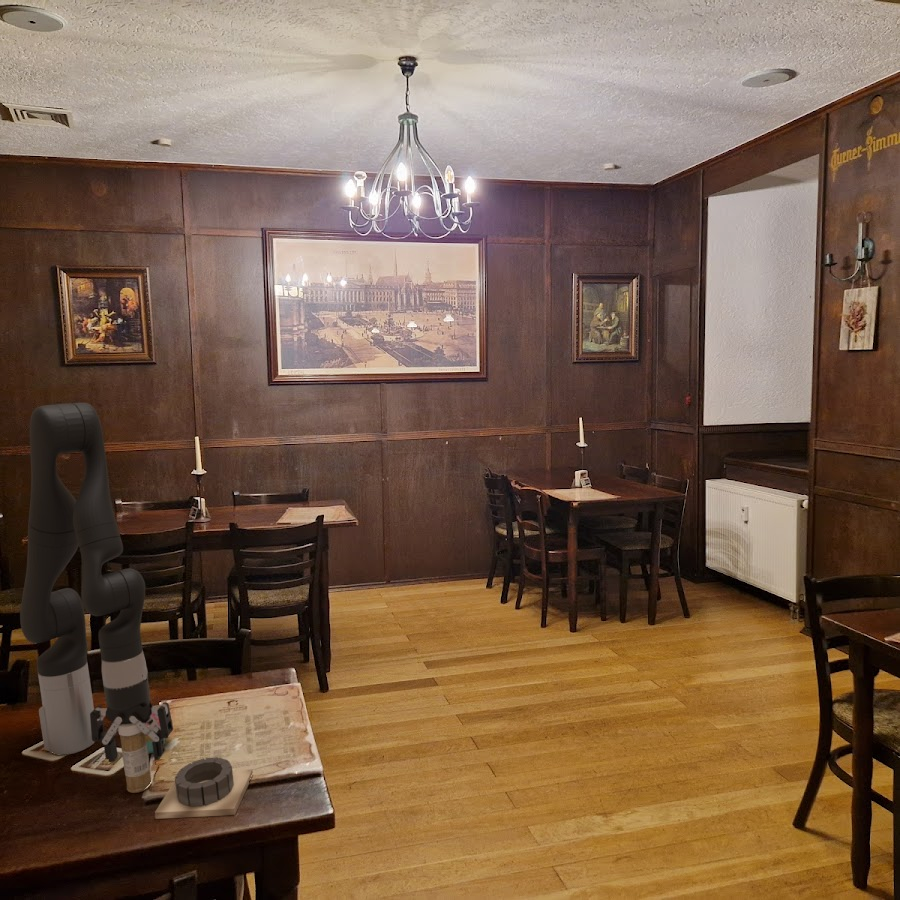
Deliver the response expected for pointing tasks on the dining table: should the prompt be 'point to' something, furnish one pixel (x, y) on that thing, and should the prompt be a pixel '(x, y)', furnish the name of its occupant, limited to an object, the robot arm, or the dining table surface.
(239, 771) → the ring holder
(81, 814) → the dining table surface
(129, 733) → the sprinkles bottle
